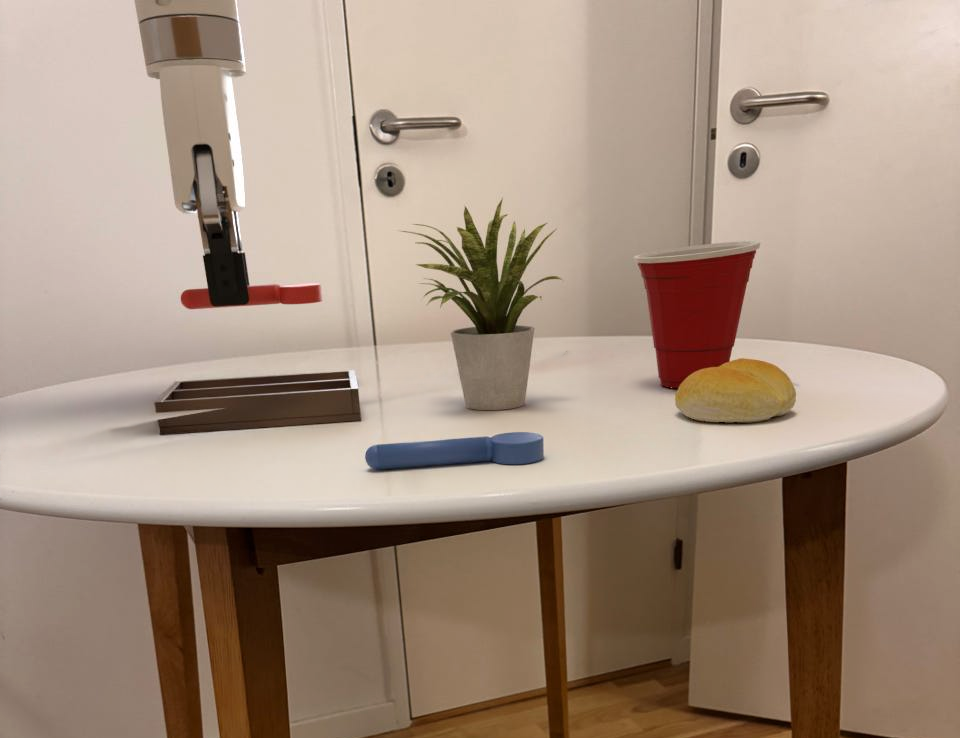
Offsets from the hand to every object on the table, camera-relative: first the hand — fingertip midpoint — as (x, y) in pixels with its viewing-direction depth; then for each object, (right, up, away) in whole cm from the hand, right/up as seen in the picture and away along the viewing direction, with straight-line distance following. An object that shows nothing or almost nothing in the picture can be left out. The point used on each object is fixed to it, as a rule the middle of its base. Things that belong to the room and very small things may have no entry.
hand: (231, 302), depth 80 cm
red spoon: (+2, 0, 0) cm, 2 cm away
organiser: (+3, -9, +1) cm, 10 cm away
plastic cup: (+41, -5, +6) cm, 42 cm away
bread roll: (+41, -11, -7) cm, 43 cm away
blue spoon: (+20, -17, -18) cm, 32 cm away
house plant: (+22, -8, +3) cm, 24 cm away
